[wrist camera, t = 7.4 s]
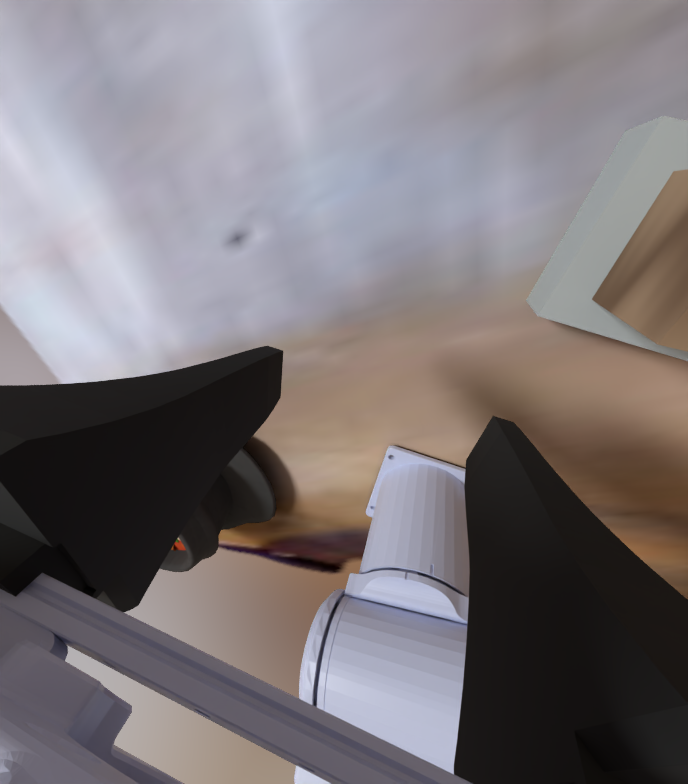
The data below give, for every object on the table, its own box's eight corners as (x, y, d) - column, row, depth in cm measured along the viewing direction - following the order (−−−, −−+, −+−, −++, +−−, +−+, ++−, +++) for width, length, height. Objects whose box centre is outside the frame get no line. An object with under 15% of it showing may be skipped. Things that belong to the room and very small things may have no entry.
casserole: (152, 504, 43) (96, 560, 37) (70, 396, 34) (-23, 444, 28) (304, 528, 35) (268, 608, 28) (248, 392, 26) (176, 461, 19)
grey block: (660, 339, 15) (699, 364, 13) (524, 298, 16) (537, 316, 14) (813, 175, 11) (912, 168, 9) (621, 132, 12) (663, 115, 10)
